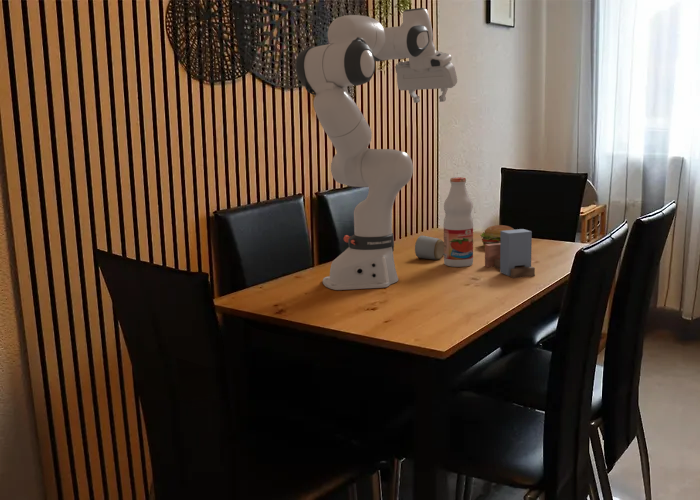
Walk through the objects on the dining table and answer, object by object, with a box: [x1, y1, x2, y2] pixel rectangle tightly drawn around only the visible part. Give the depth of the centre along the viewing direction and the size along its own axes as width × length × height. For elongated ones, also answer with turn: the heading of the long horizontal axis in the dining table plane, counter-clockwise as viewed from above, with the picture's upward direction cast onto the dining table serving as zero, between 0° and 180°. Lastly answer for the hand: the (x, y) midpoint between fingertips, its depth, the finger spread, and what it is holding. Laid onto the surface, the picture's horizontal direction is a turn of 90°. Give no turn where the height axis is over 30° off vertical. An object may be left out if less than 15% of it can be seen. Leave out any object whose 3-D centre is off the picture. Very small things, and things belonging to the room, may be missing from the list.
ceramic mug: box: [414, 235, 444, 261], centre depth 238 cm, size 11×8×8 cm
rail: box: [484, 243, 536, 279], centre depth 216 cm, size 7×18×7 cm, turn 16°
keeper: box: [499, 228, 533, 277], centre depth 211 cm, size 8×5×13 cm, turn 106°
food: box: [480, 224, 515, 248], centre depth 252 cm, size 14×14×8 cm
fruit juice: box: [443, 176, 474, 268], centre depth 225 cm, size 9×9×28 cm
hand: (429, 101), depth 230 cm, fingers open, 8 cm apart
